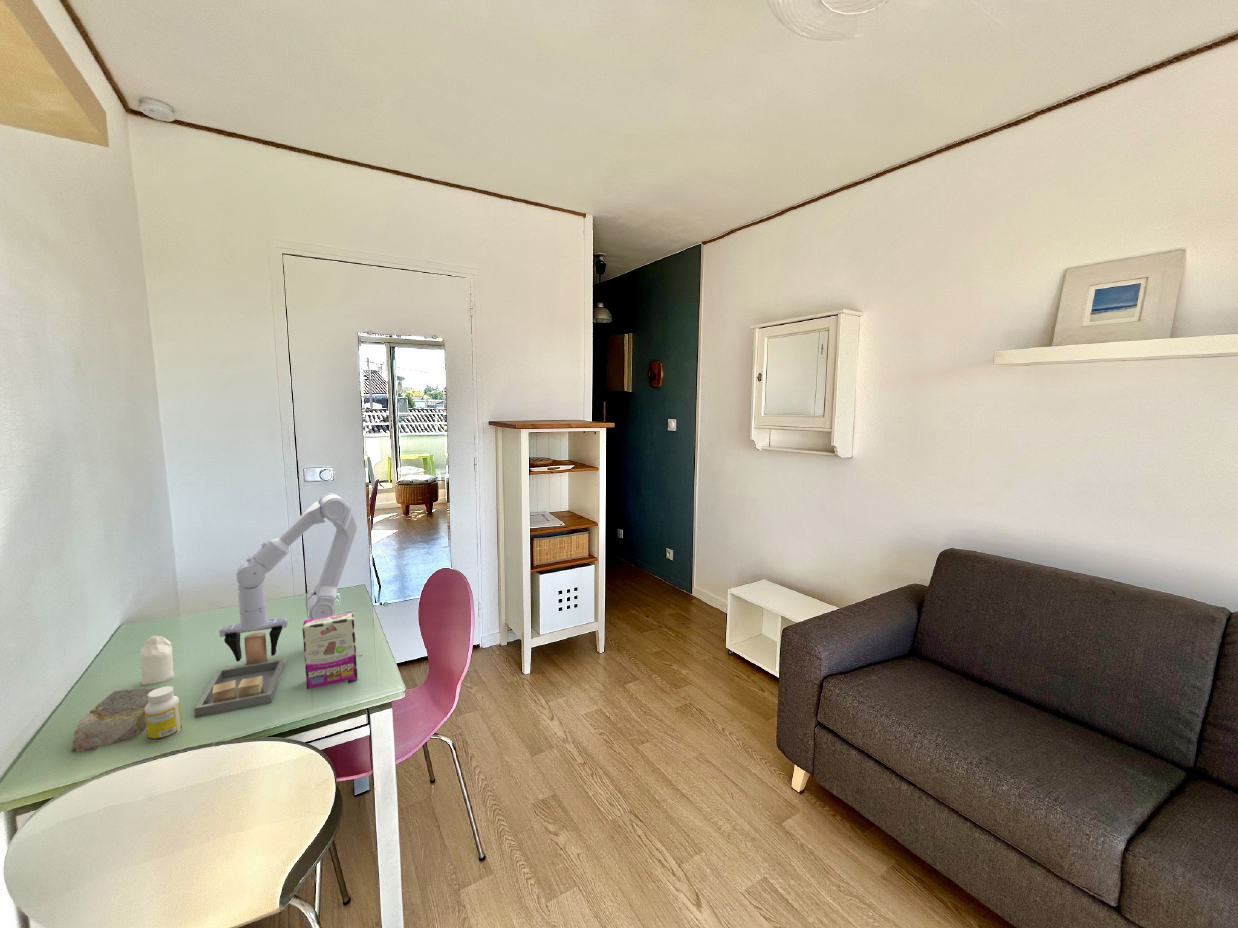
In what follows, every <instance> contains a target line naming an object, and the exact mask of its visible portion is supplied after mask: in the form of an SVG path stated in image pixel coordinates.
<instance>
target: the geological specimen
mask: <svg viewBox="0 0 1238 928" xmlns="http://www.w3.org/2000/svg"><path fill="white" fill-rule="evenodd" d="M161 687H162V686H159V687H151V688H134V689H121V690H114V691H113V692H112V693H110V694H109V695H108V696H106V697H105V699H103V700H102V701H101V702H100V703H98V704H97V705H95V707H94V708H92V709H90V711H89V712H86V713H85V714H83V716H82V718H81V720H80V721H79V723H78V724H77V727H76V729H75V731H74V733H73V736H74V737H73V740H72V746H71V751H72V752H84V751H85V752H86V751H88V750H98V748H99V747H101V746H105V745H111V744H114V743H117V742H119V741H123V740H124V741H125V740H127V739H131V738H134V737H138V736H140V735H141V734H142V733H143V731H144V730H147V727H146V719H145V707H146V705H147V704H148V703H149V702H148V694H149V693H150V692H151V691H153V690H155V689H158V688H161ZM71 751H70V752H71Z"/></svg>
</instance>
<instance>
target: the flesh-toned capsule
mask: <svg viewBox="0 0 1238 928" xmlns="http://www.w3.org/2000/svg"><path fill="white" fill-rule="evenodd" d="M244 651H245V653H244V654H245V663H246V664H245V665H250V664H256V663H262V662H268V650H267V634H266V632H263V631H262V632H261V631H260V632H253V633H250V634H247V635H245V636H244Z"/></svg>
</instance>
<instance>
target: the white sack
mask: <svg viewBox="0 0 1238 928" xmlns="http://www.w3.org/2000/svg"><path fill="white" fill-rule="evenodd" d="M139 662H140V671H141V679H142V685H143V686H147V685H153V684H158V683H162V682H164V681H168V680H169V681H170V680H172V679H173V677H175V675H174V663H173V646H172V642H171V641H170V640H168V639H167V638H165V637H163V636H161V635H152V636H151V637H149V638H147V639H146V641H145V644H144V645H143V646H142V648H140V651H139Z"/></svg>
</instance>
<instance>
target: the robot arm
mask: <svg viewBox="0 0 1238 928" xmlns="http://www.w3.org/2000/svg"><path fill="white" fill-rule="evenodd" d="M325 519H326V520H328V521H329V522H331V523H332V524H333V526H334V527H335V529H336V531H335V533H334V537H333V539H332V543H331V546H330V548H329V551H328V554H327V557H326V560H325V563H324V566H323V568H322V572H321V575H320V578H319V581H318V583H317V584H316V586H315V587H314V590H313V592H312V593H311V594H310V595H309V596H308V598H307V599H306V604H305V606H306V609H307V610H308V617H307V618H306V619H305V620H309V619H315V618H321V617H327V616H333V615H337V614H336V606H335V605H336V604H335V603H336V599H337V593H338V592H337V591H338V586H339V583H340V581H341V578H342V575H343V571H344V568H345V565H346V562H347V561H348V556H349V553H350V550H351V548H352V545H353V542H354V539H355V536H356V533H357V528H358V525H357V522H356V519H355V517H354V514H353V511H352V508H351V507H350V505H349V504H348V503H347V502H346V501H345V500H344V499H343V498H342V496H340V495H339V494H337V493H335V492H334V493H330V492H329V493H326V494H324V495H322V496H321V497H320V498H319V500H316V501H315V502H314V503H312V505H310V506H309V507H308V508H307V509H306V510H305V511H304V512H303V513H302V514H301V515H300V516H299V517H298V518H297V519H296V520H295V521H294V522H293V523H292V524H291V525H290V527H288V528H287V530H285V532H283V533H282V534H281V536H280V537H278V538H271V539H269V540H268V541H263V542H262V543H261V544H260V545H261V548H260V549H259V550H258V551H257V552H255V553H254V555H252V556H251V557H250V556H248V558H246V562H244V563H242V564H240V565H239V567H238V568H237V571H236V581H237V583H238V587H237V589H238V594H237V596H238V608H239V610H238V611H239V620H240V622H239V623H235V624H230V625H226V626H221V627H220V628H219V629H218V630H219V631H218V633H219V638H220V637H221V638H223V637H224V640H223V642H224V643H225V645H227V646H228V647H229V649H230V650H231V651H232V653H233V656H234V658H235V661H236V662H240V661H241V660H242V658H243V657H242V647H241V634H243V633H250V632H251V633H252V632H257V631H265V630H270V631H269V633H268V634H269V640H270V651H271V652H270V653H271V654H270V655H271V657H273V656H274V657H275V655H276V653H277V646H278V641H279V638H280V636H281V633H282V630H283V629H285V628H287V627H288V617H284V618H268V612H267V611H268V610H267V600H266V599H267V598H266V589H265V587H264V581H265V578H266V574H267V573H269V572H271V571H272V570H273V569H274V568H275V567H277V565H278V564H279V563H280V562H281V561H283V559H284V558H285V557H286V556H288V555H289V553H290V546H291V545H292V544H293V543H294V542H295V541H296V540H298V539H300V537H301V536H302V535H303V534H305V532H307V531H308V530H309V529H310V528H311V527H312V526H313V525H318V524H324V523H326V520H325Z"/></svg>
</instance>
